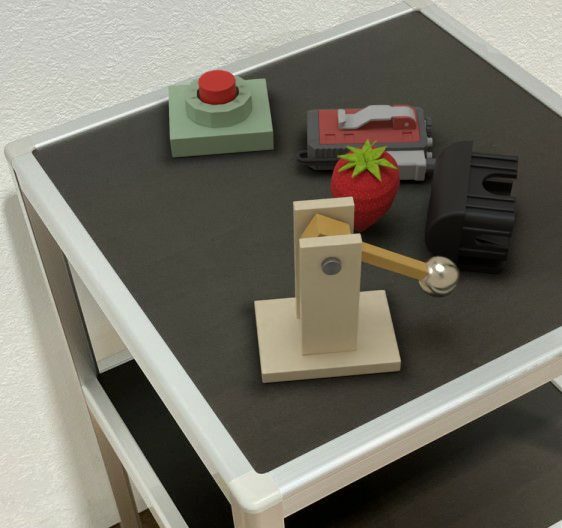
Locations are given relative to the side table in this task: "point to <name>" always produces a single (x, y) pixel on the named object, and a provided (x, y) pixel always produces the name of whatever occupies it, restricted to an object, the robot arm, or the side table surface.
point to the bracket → (326, 308)
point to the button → (217, 87)
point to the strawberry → (366, 182)
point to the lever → (395, 259)
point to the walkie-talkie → (370, 137)
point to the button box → (220, 120)
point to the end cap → (471, 207)
